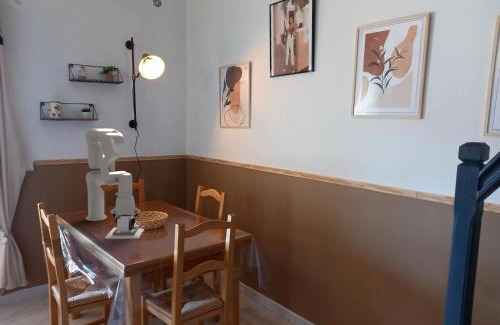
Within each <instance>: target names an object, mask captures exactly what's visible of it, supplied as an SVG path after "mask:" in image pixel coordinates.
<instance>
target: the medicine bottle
mask: <svg viewBox="0 0 500 325" xmlns="http://www.w3.org/2000/svg"><path fill="white" fill-rule="evenodd" d="M119 216H120V217H119V219H117V225H116V228H117V231H121V232H130V231H131V230H133V229H134V227H135V224H134V225H132V218H133V217H132V216H131V215H119Z"/></svg>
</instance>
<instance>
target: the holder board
mask: <svg viewBox="0 0 500 325" xmlns="http://www.w3.org/2000/svg"><path fill="white" fill-rule="evenodd" d="M138 227H139V226H134V229H133V230H131V231H130V232H121V231H117V227H113V228H112V229H110V231H109V232H108V233H107V234H106V236H105V237H104V239H105V240H125V239H126V240H128V239H129V240H136V239H138V240H139V239H140V238H141V236H142V234H143V233H144V231H145V229H138ZM142 232H143V233H142Z"/></svg>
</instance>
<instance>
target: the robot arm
mask: <svg viewBox="0 0 500 325" xmlns="http://www.w3.org/2000/svg"><path fill="white" fill-rule="evenodd" d="M85 141H86V145H87V151H88V152H87V155H88V156H87V157H88V158H87V161H88V162H87V163H88V167H89V169H91V171H89V172H87V173H86V176H85V182H86V186H87V210H88V211H87V212H88V215H87V216H86V217H85V220H86V221H87V222H88V221H89V222H98V221H99V222H100V221H104V220H106V219H107V218H108V216H107V214H105V192H104V190H103V188H102V187H101V186H103V185H106V186H113V185H118V188H117V189H118V190H117V192H115V196H116V200H115V207H113V208H112V209H110V211H109V212H110V214H111V215H112V216H113V217H114V219H115V224H116V226H117V219H119V218H120V217H119V216H120V215H131V217H133V218H132V225H134V226H135V224H136V221H137V220H136V218H137V217H138V216H139V214H140V213H141V212H142V211H141V209H139V208H137V207H136V205H135V204H136V203H135V198H134V196H133V175H132V174H131V173H130V172H127V171H125V170H121V171H120V170H119V171H118V170H117V171H116V168H115V167H116V163H115V162H116V160H118V159H119V157H120V151H119V149H118V147H119V148H120V147H123V146H124V145H125V141H126V140H125V137H124V135H123V133H121V132H120V131H118V130H117V129H114V128H96V127H95V128H90V129H88V130H86V131H85ZM92 170H93V171H92ZM135 212H136V213H135Z"/></svg>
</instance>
